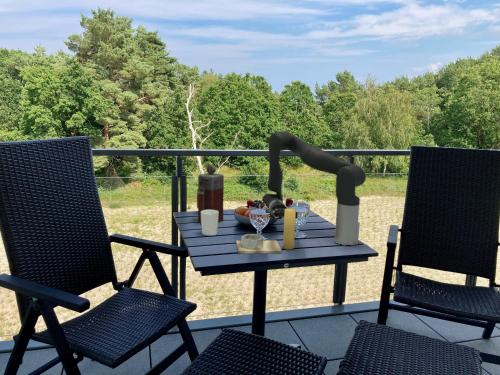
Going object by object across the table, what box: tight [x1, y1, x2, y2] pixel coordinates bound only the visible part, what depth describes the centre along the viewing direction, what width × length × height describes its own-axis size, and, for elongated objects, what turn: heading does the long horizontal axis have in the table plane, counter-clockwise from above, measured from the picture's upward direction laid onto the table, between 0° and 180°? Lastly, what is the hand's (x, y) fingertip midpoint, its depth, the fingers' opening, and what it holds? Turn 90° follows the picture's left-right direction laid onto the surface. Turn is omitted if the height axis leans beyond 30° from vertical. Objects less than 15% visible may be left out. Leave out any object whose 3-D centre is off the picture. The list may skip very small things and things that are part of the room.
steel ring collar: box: [240, 233, 264, 249], centre depth 176 cm, size 9×9×4 cm
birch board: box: [235, 239, 283, 255], centre depth 177 cm, size 17×13×1 cm
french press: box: [196, 164, 225, 224], centre depth 210 cm, size 9×11×28 cm
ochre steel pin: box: [282, 208, 297, 250], centre depth 177 cm, size 4×4×16 cm
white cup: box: [200, 210, 219, 236], centre depth 193 cm, size 8×8×10 cm
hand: (283, 218), depth 188 cm, fingers open, 8 cm apart
